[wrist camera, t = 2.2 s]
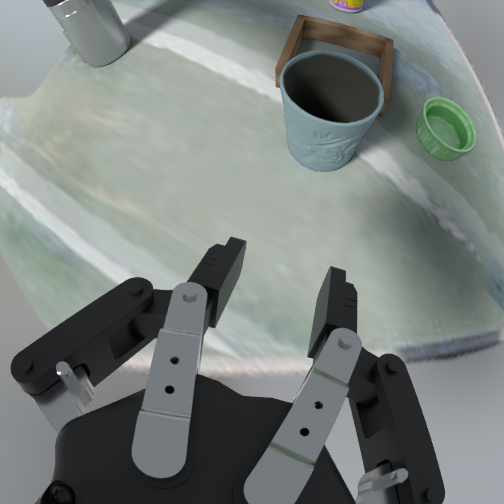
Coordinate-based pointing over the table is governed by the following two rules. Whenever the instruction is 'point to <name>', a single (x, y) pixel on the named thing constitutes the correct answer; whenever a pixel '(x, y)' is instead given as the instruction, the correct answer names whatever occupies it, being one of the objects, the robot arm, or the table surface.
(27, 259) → the table surface
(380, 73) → the brown piece
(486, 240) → the table surface
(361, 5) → the supplement bottle
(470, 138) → the ramekin
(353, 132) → the blue-grey plant pot
